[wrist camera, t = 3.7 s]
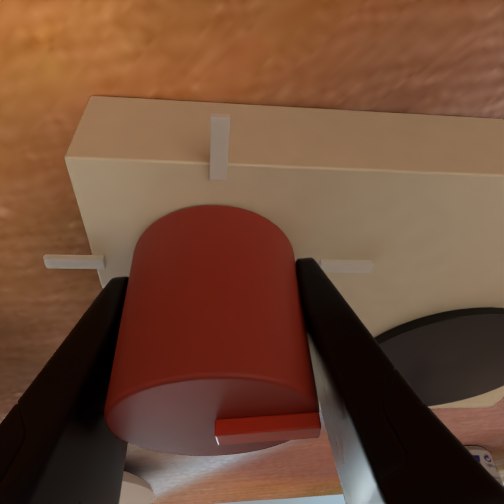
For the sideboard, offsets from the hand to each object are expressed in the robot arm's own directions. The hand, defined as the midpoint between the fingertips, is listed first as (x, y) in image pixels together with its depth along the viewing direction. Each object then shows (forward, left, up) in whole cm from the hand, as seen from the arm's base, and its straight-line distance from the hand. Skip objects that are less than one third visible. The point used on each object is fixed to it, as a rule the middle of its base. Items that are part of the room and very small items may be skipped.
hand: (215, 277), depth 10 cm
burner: (+8, -6, 0) cm, 10 cm away
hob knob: (0, 0, 0) cm, 0 cm away
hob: (+5, -4, -3) cm, 7 cm away
